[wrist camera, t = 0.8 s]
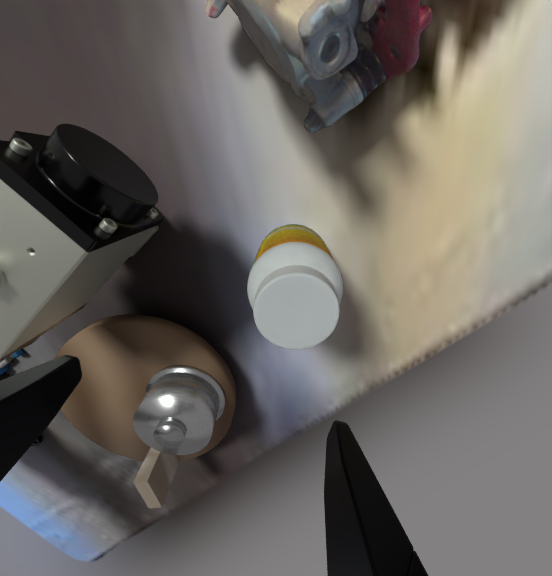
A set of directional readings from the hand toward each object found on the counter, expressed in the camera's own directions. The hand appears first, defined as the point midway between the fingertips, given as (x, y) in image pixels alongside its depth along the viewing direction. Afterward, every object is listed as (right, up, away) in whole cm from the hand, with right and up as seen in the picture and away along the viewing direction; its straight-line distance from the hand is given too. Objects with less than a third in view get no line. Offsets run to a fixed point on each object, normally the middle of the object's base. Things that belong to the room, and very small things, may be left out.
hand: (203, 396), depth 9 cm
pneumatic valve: (-9, +9, +12) cm, 17 cm away
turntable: (-9, -6, +16) cm, 19 cm away
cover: (-5, -6, +14) cm, 16 cm away
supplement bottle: (+4, +6, +12) cm, 14 cm away
